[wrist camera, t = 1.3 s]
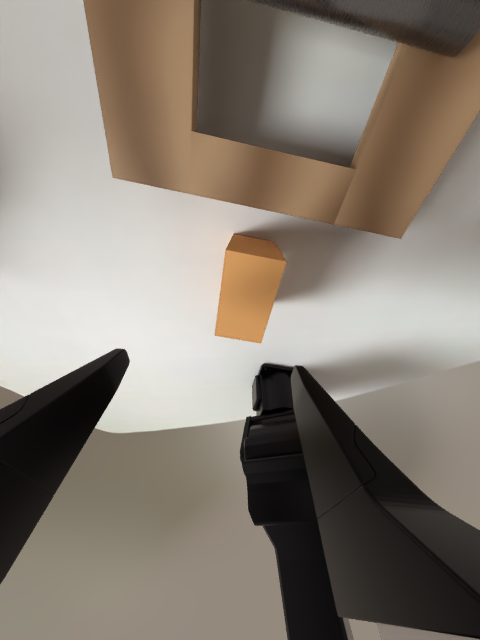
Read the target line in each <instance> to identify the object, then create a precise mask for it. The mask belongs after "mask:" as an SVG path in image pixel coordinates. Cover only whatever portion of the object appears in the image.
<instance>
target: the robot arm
mask: <svg viewBox="0 0 480 640" xmlns="http://www.w3.org/2000/svg"><path fill="white" fill-rule="evenodd" d="M129 362H130V360H129V357H128V354H127V351H126V350H125V349H115V350H113V351H111V352H109V353H107V354H105V355H103V356H101V357H99V358H98V359H96V360H94V361H92V362H90V363H88V364H86V365H84V366H82V367H80V368H79V369H77V370H75V371H73V372H71V373H69V374H67V375H65V376H63V377H61V378H59V379H58V380H56V381H54V382H52V383H50V384H48V385H46V386H44V387H42V388H40V389H38V390H37V391H35V392H33V393H31V394H30V395H27V396H25V397H23V398H22V399H19V400H18V401H16V402H14V403H12V404H10V405H8V406H6V407H4V408H2V409H0V584H1V582H2V581H3V579H4V578H5V576H6V574H7V573H8V571H9V570H10V568H11V566H12V564H13V563H14V561H15V560H16V558H17V556H18V555H19V553H20V551H21V550H22V548H23V546H24V545H25V543H26V541H27V540H28V538H29V536H30V535H31V533H32V531H33V530H34V528H35V526H36V524H37V523H38V521H39V520H40V518H41V516H42V515H43V513H44V511H45V510H46V508H47V506H48V504H49V503H50V501H51V500H52V498H53V495H54V494H55V493H56V491H57V489H58V488H59V486H60V484H61V483H62V481H63V479H64V478H65V476H66V474H67V473H68V471H69V469H70V468H71V466H72V464H73V463H74V461H75V459H76V458H77V456H78V454H79V453H80V451H81V449H82V448H83V446H84V444H85V443H86V441H87V439H88V437H89V436H90V434H91V433H92V431H93V429H94V428H95V426H96V424H97V423H98V421H99V419H100V418H101V416H102V414H103V413H104V411H105V409H106V408H107V406H108V404H109V403H110V401H111V399H112V398H113V396H114V394H115V393H116V391H117V389H118V387H119V385H120V383H121V381H122V378H123V376H124V374H125V372H126V370H127V368H128V366H129ZM264 367H265V368H264ZM252 404H253V410H254V411H257V416H254V417H251V416H249V417H247V418H246V423H245V427H244V433H243V438H242V443H241V449H240V460H241V462H242V467H243V471H244V474H245V476H246V480H247V490H248V509H249V513H250V515H251V518H252V521H253V523H254V525H256V526H263V528H264V530H265V531H266V533H267V535H268V537H269V539H270V541H271V542H272V544H273V546H274V548H275V553H276V558H277V565H278V572H279V580H280V587H281V595H282V602H283V609H284V616H285V623H286V631H287V638H288V640H354V639H353V636H352V631H351V628H350V624H349V620H348V618H350V619H356V620H362V621H368V622H375V623H377V626H378V630H379V633H380V636H381V640H480V530H478V529H476V528H475V527H473V526H471V525H469V524H468V523H466V522H464V521H463V520H461V519H459V518H458V517H456V516H454V515H452V514H451V513H449V512H448V511H446V510H445V509H443V508H442V507H440V506H439V505H438V504H436V503H435V502H434V501H432V500H431V499H430V498H429V497H428V496H427V495H425V494H424V493H423V492H422V491H421V490H420V489H419V488H418V487H417V486H416V485H415V484H414V483H413V482H412V481H411V480H410V479H409V478H408V477H407V476H406V475H405V474H404V473H402V471H401V470H400V469H399V468H397V467H396V466H395V465H394V464H393V463H392V462H391V461H390V460H389V459H388V458H387V457H386V456H385V455H384V454H383V453H382V452H381V451H380V450H379V449H378V448H377V447H376V446H375V445H374V444H373V443H372V442H371V441H370V440H369V438H368V437H367V436H366V435H365V434H364V433H363V432H362V431H361V430H360V429H359V428H358V426H357V425H355V423H354V422H353V421H352V420H351V419H350V418H349V417H348V415H347V414H346V413H345V412H344V411H343V410H342V409H341V408H340V407H339V405H338V404H337V403H336V402H335V401H334V400H333V399H332V398H331V397H330V395H329V394H328V393H327V392H326V391H325V390H324V389H323V388H322V387H321V385H320V384H319V383H318V382H317V381H316V380H315V379H314V378H313V377H312V376H311V374H310V373H309V372H308V371H307V370H306V369H305V368H304V367H303V366H297V365H296V366H295V367H294V369H291V368H285V367H279V366H273V365H267V364H263V365H261V368H260V370H259V373H258V375H256V376H255V379H254V382H253V385H252Z"/></svg>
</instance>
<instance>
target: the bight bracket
mask: <svg viewBox="0 0 480 640" xmlns="http://www.w3.org/2000/svg"><path fill="white" fill-rule="evenodd" d="M286 263H287V261H286V260H285V258H284V257H283V255H282V253H281V252H280V250H279V249H278V247H277V245H276V244H275V242H272V241H267V240H262V239H257V238H252V237H247V236H242V235H237V234H233V236H232V238H231V240H230V242H229V244H228V246H227V248H226V251H225V259H224V267H223V274H222V282H221V290H220V298H219V306H218V313H217V321H216V329H215V336H220V337H226V338H232V339H238V340H244V341H250V342H256V343H261V342H262V339H263V335H264V332H265V329H266V326H267V323H268V320H269V316H270V313H271V310H272V307H273V304H274V301H275V298H276V294H277V291H278V288H279V285H280V282H281V279H282V276H283V272H284V269H285V266H286Z"/></svg>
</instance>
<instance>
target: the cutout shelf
mask: <svg viewBox="0 0 480 640" xmlns="http://www.w3.org/2000/svg"><path fill="white" fill-rule="evenodd" d="M83 1H84V7H85V13H86V19H87V25H88V31H89V37H90V43H91V50H92V56H93V62H94V68H95V74H96V80H97V86H98V92H99V98H100V104H101V110H102V116H103V122H104V128H105V134H106V140H107V146H108V152H109V158H110V164H111V170H112V176H113V178H117V179H122V180H126V181H131V182H136V183H141V184H145V185H150V186H155V187H159V188H164V189H169V190H174V191H178V192H183V193H188V194H192V195H197V196H202V197H207V198H211V199H216V200H221V201H225V202H230V203H235V204H240V205H244V206H249V207H254V208H258V209H263V210H268V211H273V212H277V213H282V214H287V215H291V216H296V217H301V218H306V219H310V220H315V221H320V222H324V223H329V224H334V225H339V226H343V227H348V228H353V229H357V230H362V231H367V232H372V233H376V234H381V235H386V236H390V237H395V238H400V239H401V237H402V236H403V234H404V233H405V231H406V229H407V228H408V226H409V225H410V223H411V221H412V220H413V218H414V216H415V215H416V213H417V212H418V210H419V208H420V207H421V205H422V203H423V202H424V200H425V199H426V197H427V195H428V194H429V192H430V191H431V189H432V187H433V186H434V184H435V182H436V181H437V179H438V178H439V176H440V174H441V173H442V171H443V169H444V168H445V166H446V165H447V163H448V161H449V160H450V158H451V157H452V155H453V153H454V152H455V150H456V148H457V147H458V145H459V144H460V142H461V140H462V139H463V137H464V135H465V134H466V132H467V131H468V129H469V127H470V126H471V124H472V123H473V121H474V119H475V118H476V116H477V114H478V113H479V111H480V0H249V1H252V2H256V3H259V4H263V5H266V6H270V7H274V8H277V9H281V10H284V11H288V12H291V13H295V14H299V15H302V16H306V17H309V18H313V19H316V20H320V21H324V22H327V23H331V24H334V25H338V26H341V27H345V28H348V29H352V30H356V31H359V32H363V33H366V34H370V35H373V36H377V37H381V38H384V39H388V40H391V41H395V42H398V45H397V48H396V50H395V53H394V55H393V58H392V61H391V63H390V66H389V68H388V71H387V73H386V76H385V78H384V81H383V83H382V86H381V88H380V91H379V94H378V96H377V99H376V101H375V104H374V106H373V109H372V111H371V114H370V116H369V119H368V121H367V124H366V127H365V129H364V132H363V134H362V137H361V139H360V142H359V144H358V147H357V149H356V152H355V154H354V157H353V160H352V162H351V165H350V167H349V168H348V167H343V166H339V165H335V164H330V163H326V162H322V161H318V160H313V159H309V158H305V157H300V156H296V155H292V154H287V153H283V152H279V151H275V150H270V149H266V148H262V147H257V146H253V145H249V144H244V143H240V142H236V141H232V140H227V139H223V138H219V137H214V136H210V135H206V134H201V133H197V107H198V77H199V46H200V15H201V0H83Z"/></svg>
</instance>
